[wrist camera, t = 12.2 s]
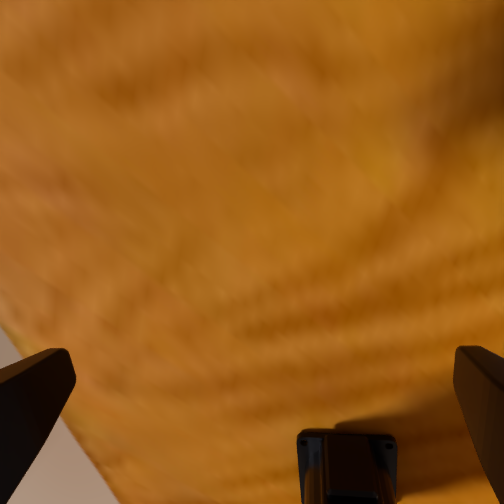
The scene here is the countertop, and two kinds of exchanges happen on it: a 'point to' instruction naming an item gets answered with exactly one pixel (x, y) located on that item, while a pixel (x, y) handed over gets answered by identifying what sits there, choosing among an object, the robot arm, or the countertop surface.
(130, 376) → the countertop surface
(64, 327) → the countertop surface
